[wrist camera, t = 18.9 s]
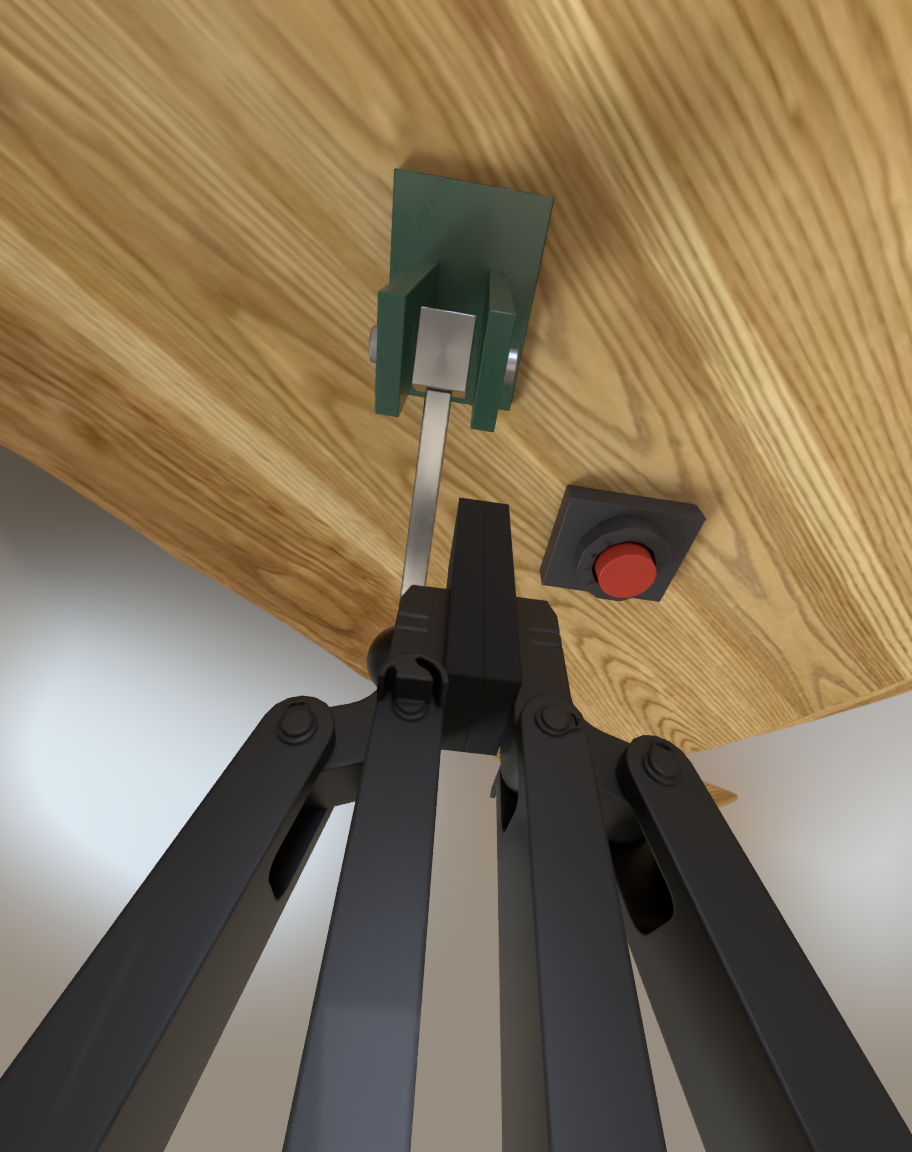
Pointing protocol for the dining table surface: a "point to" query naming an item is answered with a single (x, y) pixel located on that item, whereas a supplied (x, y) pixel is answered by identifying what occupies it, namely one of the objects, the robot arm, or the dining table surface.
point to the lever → (430, 441)
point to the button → (625, 570)
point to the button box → (617, 537)
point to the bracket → (459, 283)
